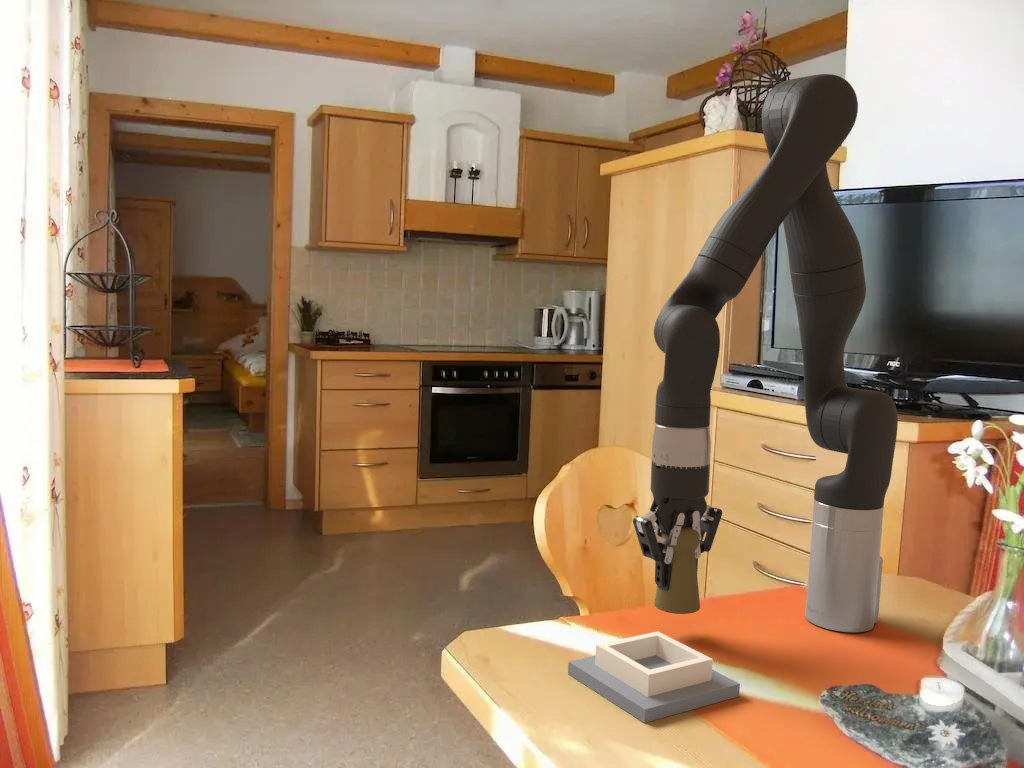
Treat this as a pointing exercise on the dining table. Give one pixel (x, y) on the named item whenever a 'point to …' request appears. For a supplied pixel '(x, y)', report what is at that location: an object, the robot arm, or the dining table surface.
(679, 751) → the dining table surface
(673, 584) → the olive brown knobbed peg
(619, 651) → the board
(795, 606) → the dining table surface
